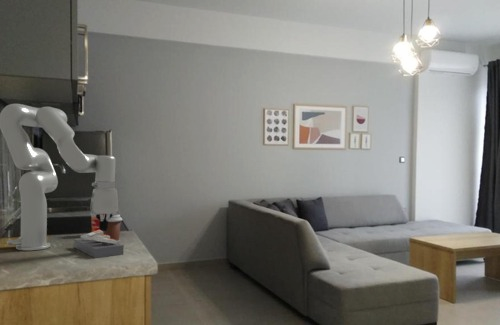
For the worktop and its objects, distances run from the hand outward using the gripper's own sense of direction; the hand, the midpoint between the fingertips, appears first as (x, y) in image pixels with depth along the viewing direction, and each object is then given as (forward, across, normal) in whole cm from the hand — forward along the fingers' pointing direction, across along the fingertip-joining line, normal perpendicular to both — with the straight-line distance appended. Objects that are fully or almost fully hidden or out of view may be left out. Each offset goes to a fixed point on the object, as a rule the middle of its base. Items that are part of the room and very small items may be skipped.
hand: (103, 230), depth 169 cm
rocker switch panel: (+8, -2, 0) cm, 8 cm away
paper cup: (+9, +11, +34) cm, 37 cm away
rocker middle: (+3, -2, 0) cm, 3 cm away
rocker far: (+3, -2, +7) cm, 7 cm away
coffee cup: (+8, +10, +16) cm, 20 cm away
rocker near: (+3, -2, -7) cm, 8 cm away
